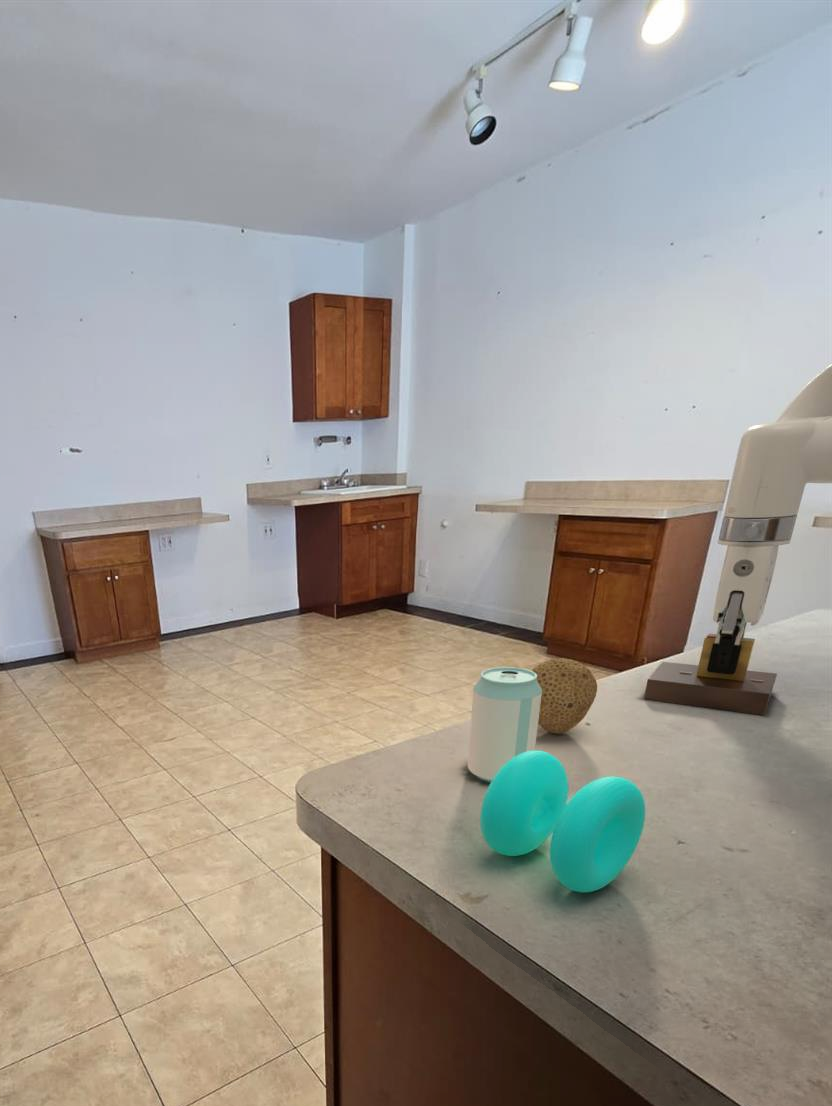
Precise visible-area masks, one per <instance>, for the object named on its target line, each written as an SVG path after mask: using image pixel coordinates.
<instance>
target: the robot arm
mask: <svg viewBox="0 0 832 1106" xmlns="http://www.w3.org/2000/svg"><path fill="white" fill-rule="evenodd" d="M730 480H731V481H730V485H729V491H728V494H727V499H726V504H725V508H724V513H723V517H722V522H721V526H720V531H719V535H718V540H717V544H719V545H721V546H727V548H726V551H725V556H724V561H723V565H722V568H721V573H720V578H719V582H718V588H717V591H716V592H717V593H716V598H715V603H714V608H713V616H712V620H713V622H715V623H716V624H718V627H717V632H716V634H717V635H716V639H715V643H713V646H712V650H711V654H710V659H709V663H708V667H707V671H708V672H712V673H721V674H730V675H732V674H734V673H735V671H736V667H737V663H738V659H739V655H740V651H741V647H742V645H740V641H741V638H745V633H746V630H747V625H748V623H750V626H751V627H752V626H755V625H757V624H758V623H759V622H760V620H761V618H762V616H763V614H764V612H765V608H766V603H767V599H768V596H769V591H770V587H771V584H772V579H773V575H774V571H775V567H776V563H777V557H778V553H779V547H780V546H785V545H789V544H790V543H791V542H792V541H791V540H792V536H793V533H794V530H795V525H796V523H797V522H796V521H797V518H798V513H799V511H800V506H801V502H802V499H803V496H804V495H803V494H804V491H805V487H806V485H807V484H832V363H831V364H830V365H829V366H827V367H825V369H823V370H822V371H821V372H819V373H818V374H817V375H816V376H814V377H813V378H812V380H810V381H809V382H808V383H807V384H806V385H805V386H803V388H802V389H801V390H800V391H799V392H798V393H797V394H796V396H795V397H794V398H793V399H792V400H791V401H790V403H789V404H788V405H787V406H786V407H785V408H784V409H783V411H782V412H781V413H780V415H779V416H778V417H777V418H776V420H775V421H774V422H768V423H761V424H756V425H753V426H751V427H749V428H748V429H746V430H745V431H744V433H743V435H742V436H741V438H740V441H739V445H738V449H737V453H736V459H735V464H734V468H733V472H732V477H731V479H730Z"/></svg>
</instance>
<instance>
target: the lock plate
mask: <svg viewBox="0 0 832 1106" xmlns="http://www.w3.org/2000/svg"><path fill="white" fill-rule="evenodd" d="M698 665H699V664H688V663H679V662H671V661H670V662H668V661H661V662H660V663H659V665H658V666H657V667H656V668H655V670H654V671H653V672H652V673H651V675H650V676H648V678H647V681H646V685H645V692H644V696H643V699H644V700H650V701H655V702H656V701H657V702H664V703H670V704H677V705H684V706H685V705H686V706H692V707H693V706H694V707H701V708H707V709H714V710H723V711H730V712H737V713H745V714H752V715H759V716H765V713H766V711H767V708H768V706H769V702H770V699H771V696H772V693H773V689H774V686H775V682H776V679H777V676H778V673H775V672H767V671H757V670H748V669H747V672H746V676H745V679H744V681H737V680H728V679H719V678H710V677H701V676H696V674H697V670H698Z"/></svg>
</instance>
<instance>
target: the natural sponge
mask: <svg viewBox="0 0 832 1106" xmlns="http://www.w3.org/2000/svg"><path fill="white" fill-rule="evenodd" d="M530 671H533V672H534V673H536V674H537V682H538V684H539V685H540V687H541V689H542V696H541V704H540V712H539V720H538V726H540V727H541V728H542V729H543V730H544V731H546V732H547V733H550V734H553V735H561V734H565V733H567V732H569V731H570V730H572V729H574V728H575V727H576V726H578V725H579V724H580V723H581V722H582V721H583V720H584V718H585V717H586V716H587V714H588V713H589V711H590V709H591V707H592V705H593V703H594V701H595V699H596V697H597V694H598V693H597V692H598V682H597V679H596V677H595V676H594V674H593V672H592V671H591V670H590V669H589V668H588V667H587V666H586V665H584V664H583V663H581V662H579V661H577V660H574V659H569V658H561V657H560V658H559V657H558V658H551V659H548V660H545V661H543V662H541V663H539V664H538V665H536V666H534V667H533V668H531V670H530Z"/></svg>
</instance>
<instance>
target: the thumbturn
mask: <svg viewBox="0 0 832 1106" xmlns="http://www.w3.org/2000/svg"><path fill="white" fill-rule="evenodd" d="M716 635H717V633H708V634H706V636H705V637H704V639H703V644H702V648H701V653H700V657H699V662H698V664H697V665H698V670H697V674H696V676H701V677H710V678H719V679H728V680H737V681H744V679H745V676H746V672H747V670H748V669H749V665H750V660H751V658H752V657H751V656H752V652H753V649H754V645H755V641H756V638H749V637H743V638H741V641H740V645H742V647H741V651H740V655H739V659H738V663H737V667H736V671H735V673H734V674H732V675H730V674H721V673H712V672H708V671H707V667H708V663H709V659H710V654H711V650H712V646H713V643H715V639H716Z"/></svg>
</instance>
